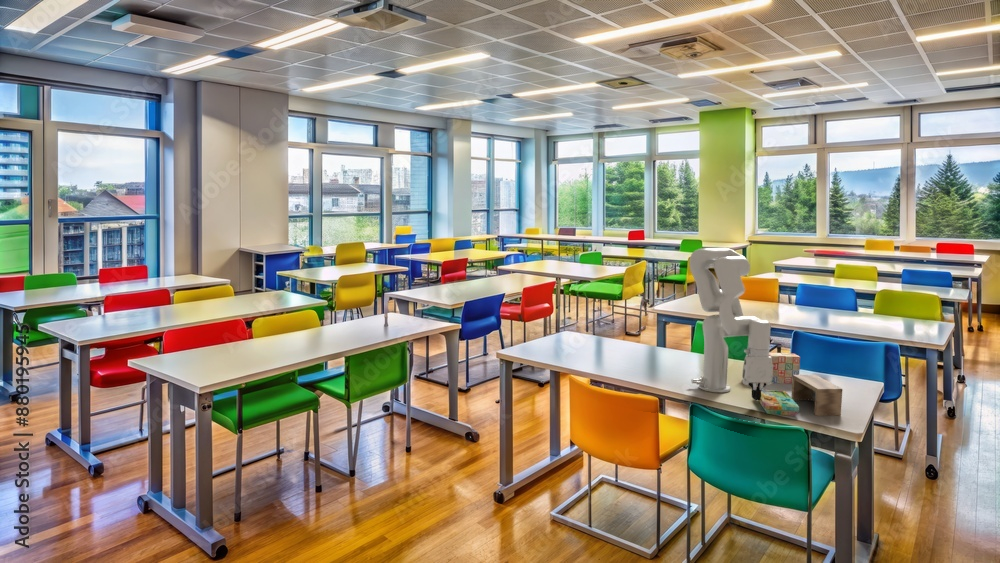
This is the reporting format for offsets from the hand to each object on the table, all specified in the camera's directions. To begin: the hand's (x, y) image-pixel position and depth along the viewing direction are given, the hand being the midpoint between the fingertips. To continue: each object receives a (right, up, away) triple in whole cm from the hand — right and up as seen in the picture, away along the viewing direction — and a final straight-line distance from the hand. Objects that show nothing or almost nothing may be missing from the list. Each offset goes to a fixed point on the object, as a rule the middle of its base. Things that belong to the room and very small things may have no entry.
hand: (756, 399), depth 230 cm
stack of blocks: (+22, +1, +35) cm, 41 cm away
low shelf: (+23, -3, +1) cm, 23 cm away
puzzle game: (+8, -4, +1) cm, 8 cm away
